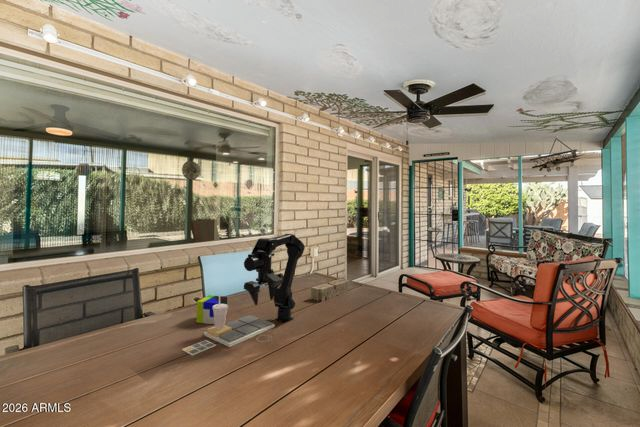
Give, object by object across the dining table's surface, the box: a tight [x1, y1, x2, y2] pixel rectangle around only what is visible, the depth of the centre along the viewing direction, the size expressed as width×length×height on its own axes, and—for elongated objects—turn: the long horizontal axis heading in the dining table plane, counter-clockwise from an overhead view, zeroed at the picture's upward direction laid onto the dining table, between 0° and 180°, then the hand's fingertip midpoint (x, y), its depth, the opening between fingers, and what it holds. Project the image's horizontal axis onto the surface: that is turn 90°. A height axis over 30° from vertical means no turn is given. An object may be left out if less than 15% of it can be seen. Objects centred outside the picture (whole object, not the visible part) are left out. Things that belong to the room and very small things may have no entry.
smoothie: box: [213, 295, 229, 330], centre depth 126 cm, size 6×6×14 cm
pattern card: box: [181, 339, 217, 357], centre depth 114 cm, size 10×7×1 cm
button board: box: [203, 314, 276, 348], centre depth 130 cm, size 25×17×2 cm
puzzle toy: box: [196, 294, 228, 325], centre depth 142 cm, size 10×10×10 cm
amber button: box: [206, 325, 232, 338], centre depth 126 cm, size 7×7×2 cm
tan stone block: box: [310, 278, 350, 302], centre depth 186 cm, size 8×8×29 cm
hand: (264, 302), depth 130 cm, fingers open, 9 cm apart
